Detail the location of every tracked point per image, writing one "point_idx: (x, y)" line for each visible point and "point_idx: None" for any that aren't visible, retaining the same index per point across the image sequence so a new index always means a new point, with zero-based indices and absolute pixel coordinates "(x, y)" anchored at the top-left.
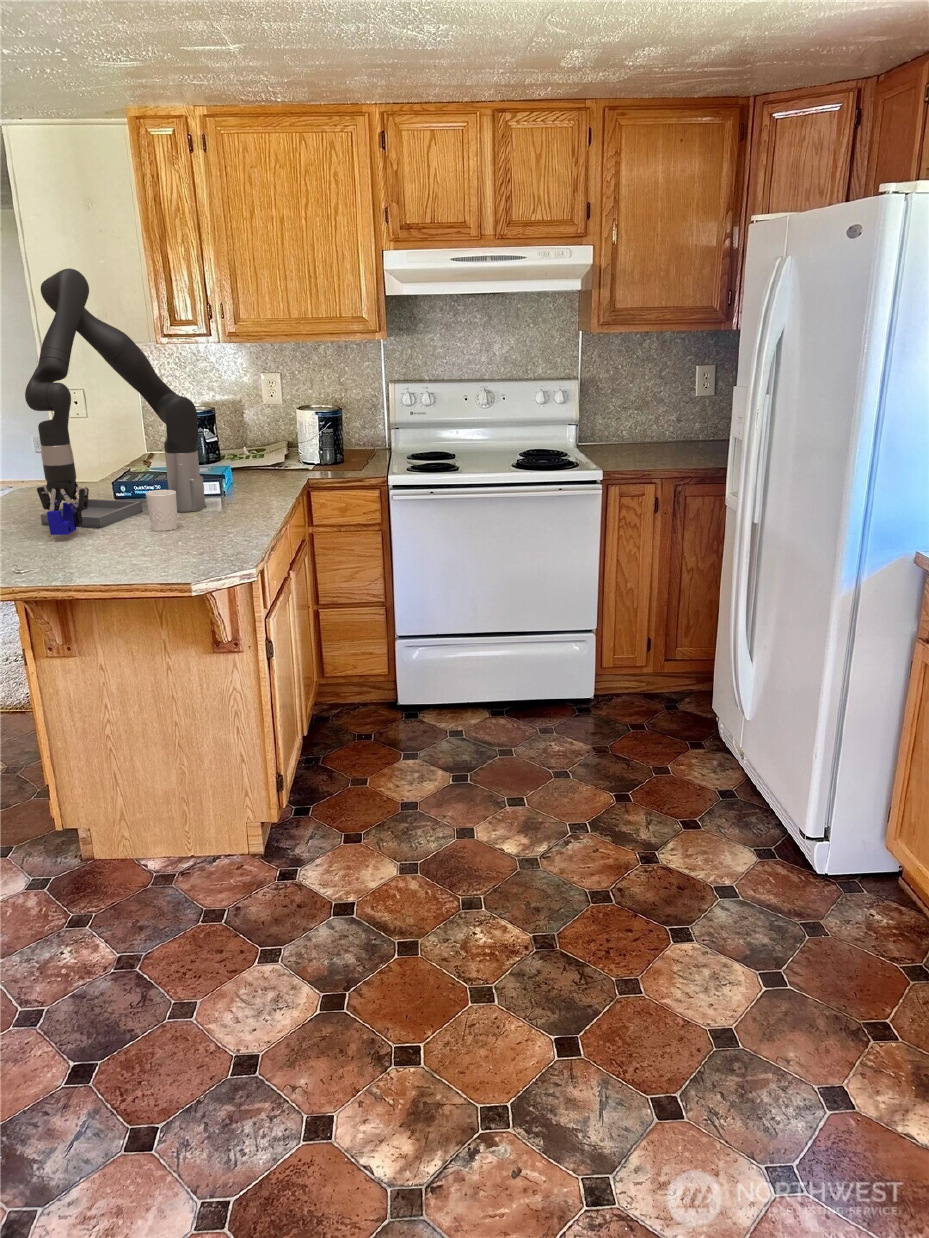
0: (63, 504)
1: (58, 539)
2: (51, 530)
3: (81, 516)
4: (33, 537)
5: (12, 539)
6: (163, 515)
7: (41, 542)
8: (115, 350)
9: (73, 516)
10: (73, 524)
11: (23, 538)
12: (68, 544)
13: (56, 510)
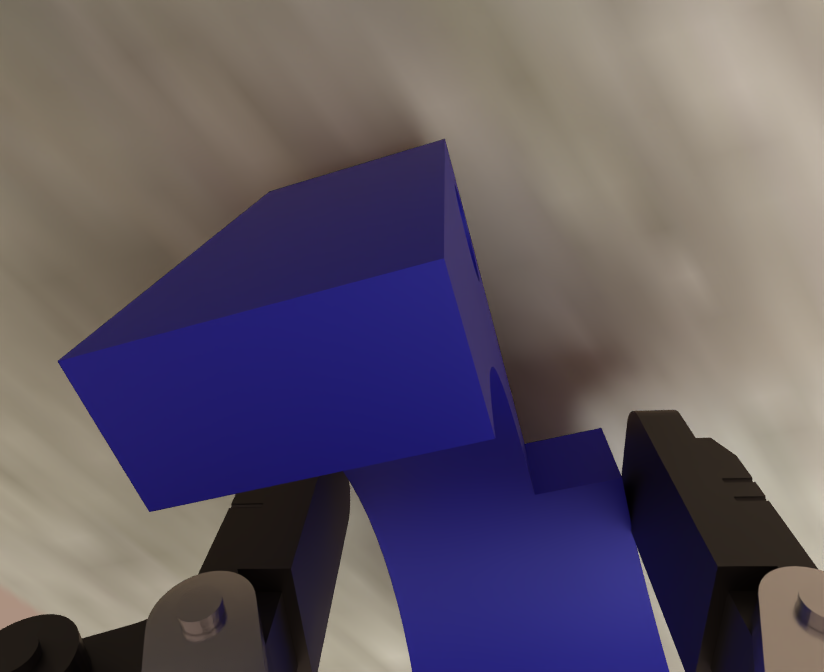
0: (181, 482)
1: None
2: None
3: (783, 533)
4: (159, 518)
5: (49, 604)
6: None
7: (378, 631)
8: None
9: (680, 632)
10: (636, 552)
11: (106, 562)
12: (665, 638)
13: (282, 661)
